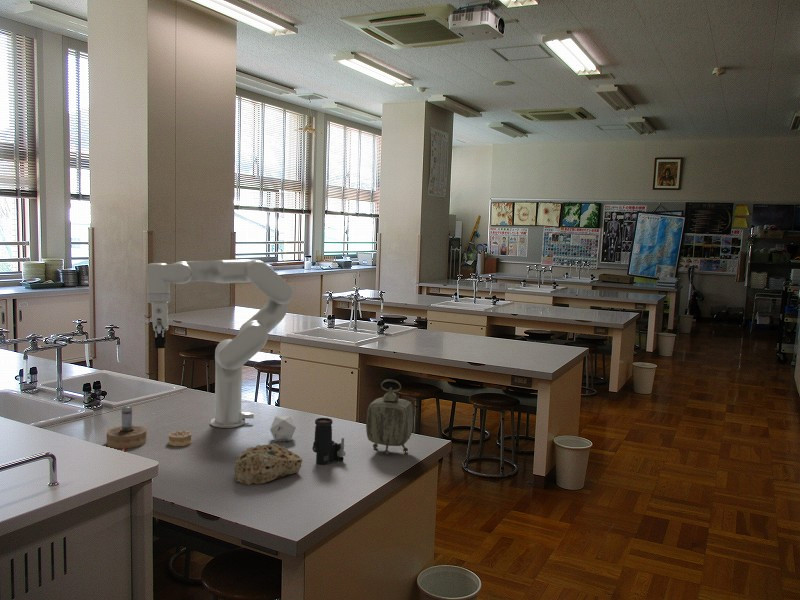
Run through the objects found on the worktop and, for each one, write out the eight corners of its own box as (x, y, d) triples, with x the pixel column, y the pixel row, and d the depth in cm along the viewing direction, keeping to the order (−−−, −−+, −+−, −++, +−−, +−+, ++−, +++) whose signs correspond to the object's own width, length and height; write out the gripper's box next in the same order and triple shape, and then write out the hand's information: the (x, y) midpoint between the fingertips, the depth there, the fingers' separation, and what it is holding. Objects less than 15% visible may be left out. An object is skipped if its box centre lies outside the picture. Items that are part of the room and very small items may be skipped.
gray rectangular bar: (132, 440, 217) (132, 405, 216) (131, 443, 214) (131, 408, 213) (122, 440, 217) (122, 406, 215) (120, 444, 213) (120, 408, 212)
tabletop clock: (412, 451, 218) (415, 379, 216) (405, 460, 210) (408, 384, 207) (371, 446, 222) (374, 374, 220) (363, 454, 214) (365, 380, 211)
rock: (273, 463, 205) (282, 434, 203) (303, 485, 197) (312, 456, 195) (220, 473, 189) (229, 442, 187) (250, 498, 180) (259, 466, 179)
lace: (125, 448, 210) (125, 446, 210) (121, 457, 201) (121, 455, 201) (123, 448, 210) (123, 446, 209) (119, 457, 201) (119, 455, 201)
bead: (147, 435, 223) (147, 424, 222) (144, 447, 211) (144, 435, 211) (110, 437, 219) (110, 426, 219) (104, 449, 208) (104, 437, 208)
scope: (347, 419, 205) (323, 425, 197) (345, 461, 206) (322, 469, 199) (329, 413, 210) (306, 419, 202) (328, 455, 211) (304, 462, 204)
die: (264, 440, 225) (265, 423, 219) (278, 422, 232) (280, 405, 225) (285, 451, 224) (287, 434, 217) (299, 433, 230) (301, 416, 224)
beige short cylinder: (191, 438, 222) (191, 430, 221) (190, 445, 215) (190, 436, 215) (169, 439, 220) (169, 431, 219) (168, 446, 213) (168, 437, 213)
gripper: (169, 300, 221) (171, 349, 223) (170, 295, 237) (172, 341, 239) (146, 301, 218) (148, 350, 220) (148, 295, 234) (150, 342, 236)
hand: (160, 345), depth 229 cm, fingers open, 9 cm apart
